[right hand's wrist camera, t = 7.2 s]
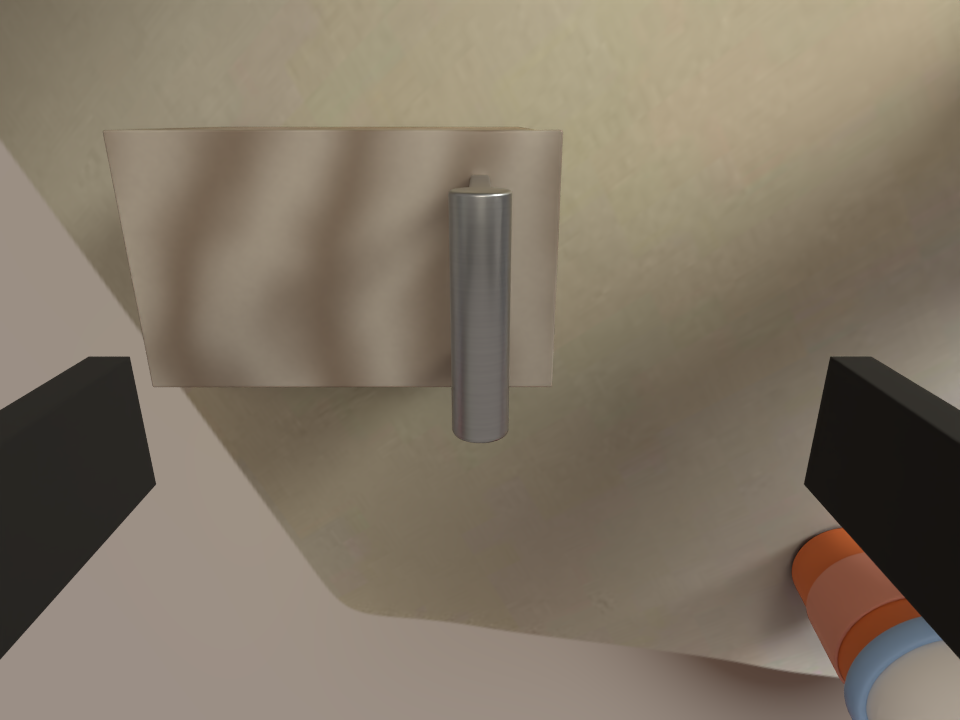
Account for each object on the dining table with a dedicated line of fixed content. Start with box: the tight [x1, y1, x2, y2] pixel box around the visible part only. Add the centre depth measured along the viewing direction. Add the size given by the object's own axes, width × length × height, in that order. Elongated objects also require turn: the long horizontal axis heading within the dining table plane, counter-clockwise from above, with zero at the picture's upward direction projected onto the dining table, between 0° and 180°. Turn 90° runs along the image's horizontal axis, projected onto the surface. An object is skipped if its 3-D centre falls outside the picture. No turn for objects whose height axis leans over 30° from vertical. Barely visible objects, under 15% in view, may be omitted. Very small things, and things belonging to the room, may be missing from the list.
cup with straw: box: [792, 528, 960, 720], centre depth 35 cm, size 9×9×18 cm
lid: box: [103, 130, 563, 443], centre depth 22 cm, size 17×10×8 cm, turn 90°
